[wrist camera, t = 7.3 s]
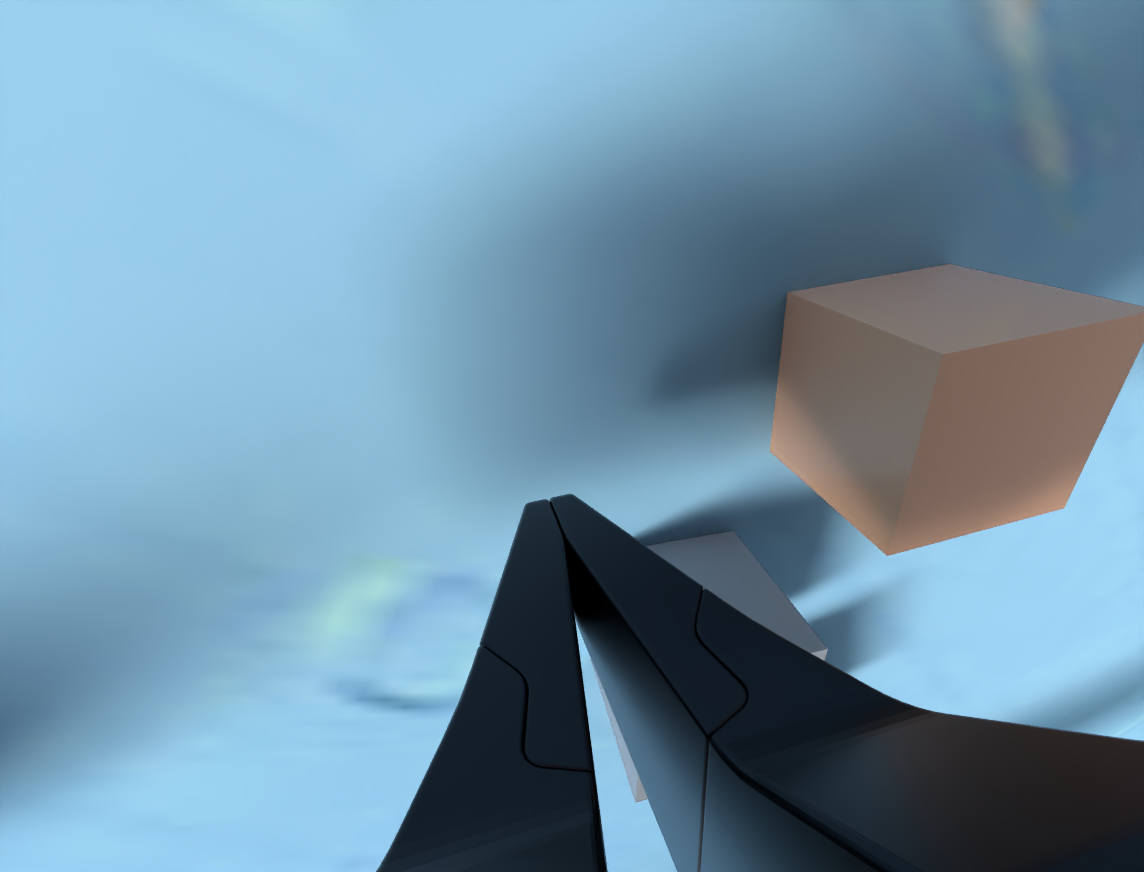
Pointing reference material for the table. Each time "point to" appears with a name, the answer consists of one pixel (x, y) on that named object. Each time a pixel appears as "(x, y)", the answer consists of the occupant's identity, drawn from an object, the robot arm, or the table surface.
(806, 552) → the table surface
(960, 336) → the terracotta block
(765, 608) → the slate block
